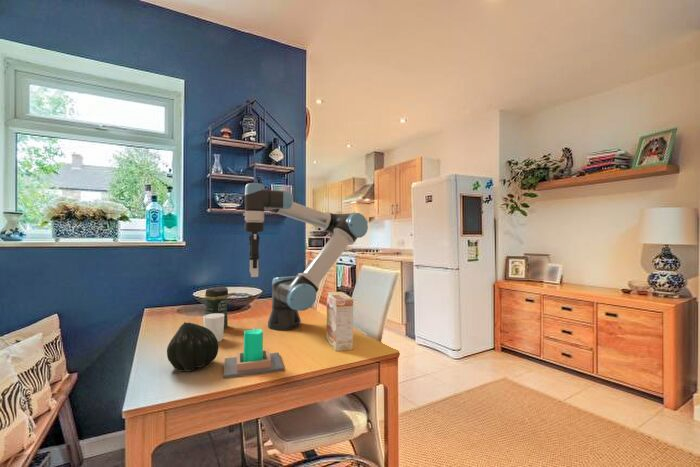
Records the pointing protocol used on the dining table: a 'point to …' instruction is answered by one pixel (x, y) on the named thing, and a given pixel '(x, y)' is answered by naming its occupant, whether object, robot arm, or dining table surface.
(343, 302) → the coffeecake box
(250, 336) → the candle
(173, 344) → the squash
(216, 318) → the white cup
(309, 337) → the dining table surface
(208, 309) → the coffee jar
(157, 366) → the dining table surface
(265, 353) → the candle plate
